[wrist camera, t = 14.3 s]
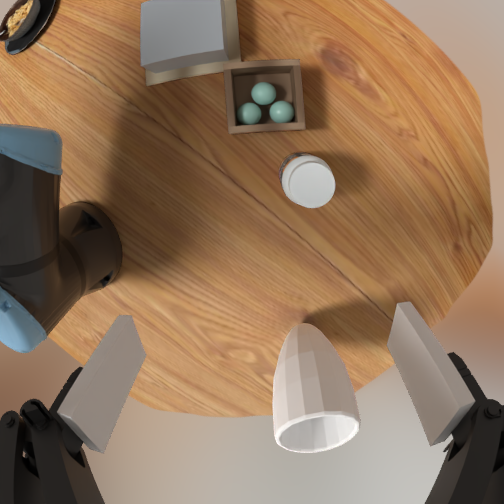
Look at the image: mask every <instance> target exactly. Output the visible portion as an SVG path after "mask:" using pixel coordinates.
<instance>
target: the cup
mask: <svg viewBox="0 0 504 504" xmlns="http://www.w3.org/2000/svg"><path fill="white" fill-rule="evenodd" d="M272 405H273V421H274V436H275V439H276V441H277V444H278V445H279V446H281V447H283V448H285V449H286V450H289V451H294V452H299V453H314V452H320V451H325V450H329V449H332V448H335V447H338V446H340V445H342V444H344V443H345V442H347V441H349V440H350V439H352V438H353V437H354V436H355V435H356V433H357V432H358V431H359V429H360V416H359V411H358V406H357V402H356V397H355V393H354V389H353V386H352V383H351V380H350V378H349V375H348V372H347V369H346V367H345V364H344V362H343V361H342V359H341V358H340V356H339V354H338V353H337V351H336V350H335V348H334V346H333V345H332V344H331V342H330V341H329V340H328V339H327V338H326V336H325V335H324V334H323V333H322V332H321V331H320V330H319V329H317V328H316V327H315V326H313V325H311V324H308V323H302V324H298V325H296V326H294V327H293V328H292V329H291V330H290V332H289V333H288V335H287V336H286V338H285V341H284V343H283V346H282V348H281V351H280V354H279V358H278V362H277V367H276V371H275V375H274V382H273V404H272Z"/></svg>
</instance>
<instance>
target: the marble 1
mask: <svg viewBox="0 0 504 504" xmlns="http://www.w3.org/2000/svg"><path fill="white" fill-rule="evenodd" d="M236 116H237V119H238V121H239V122H240V123H241V124H243V125H255V124H257V123H258V122H259V120H260V119H261V110H260V108H259V107H258V106H257V105H256V104H254V103H244V104H242V105H241V106H240V107H239V108H238V109H237V113H236Z"/></svg>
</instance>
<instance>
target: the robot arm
mask: <svg viewBox="0 0 504 504" xmlns="http://www.w3.org/2000/svg"><path fill="white" fill-rule="evenodd" d="M61 162H62V139H61V137H60V135H59V134H58V133H57V132H56V131H54V130H51V129H46V128H40V127H32V126H23V125H13V124H0V341H1V342H3V343H4V344H5V345H7V346H8V347H9V348H11V349H13V350H15V351H17V352H21V353H28V352H30V351H32V350H34V349H35V347H36V346H38V344H39V343H40V342H41V341H43V340H45V339H46V338H47V336H48V334H49V333H50V332H51V331H52V330H53V328H54V327H55V326H56V325H57V324H58V323H59V321H60V320H61V319H62V318H63V317H64V316H65V314H66V313H67V312H68V311H69V310H70V309H71V308H72V307H73V305H74V304H75V303H76V302H77V301H78V300H79V299H80V298H81V297H82V296H85V295H87V294H90V293H93V292H95V291H98V290H100V289H103V288H104V287H106V286H107V285H108V284H109V283H110V282H111V281H112V280H113V279H114V278H115V277H116V275H117V274H118V272H119V269H120V267H121V262H122V247H121V242H120V239H119V236H118V233H117V231H116V229H115V227H114V225H113V224H112V222H111V221H110V219H109V218H108V217H107V216H106V215H105V214H104V213H103V212H102V211H101V210H100V209H98V208H97V207H95V206H93V205H91V204H88V203H84V202H75V203H72V204H69V205H67V206H65V207H63V208H61V209H60V210H59V196H60V181H61V175H62V169H61ZM387 347H388V349H389V351H390V353H391V355H392V357H393V359H394V361H395V364H396V366H397V368H398V370H399V372H400V374H401V377H402V379H403V381H404V383H405V385H406V388H407V390H408V392H409V395H410V397H411V399H412V401H413V404H414V406H415V409H416V411H417V413H418V416H419V418H420V421H421V423H422V426H423V428H424V431H425V434H426V436H427V439H428V441H429V444H430V446H432V445H435V444H438V443H441V442H443V441H445V440H446V439H447V438H448V436H449V435H450V434H451V433H452V436H453V438H454V439H453V440H452V441H451V442H450V443H449V444H448V446H447V447H446V448H445V450H444V451H443V452H446V451H447V450H448V452H447V455H446V458H445V460H444V463H443V465H442V468H441V470H440V473H439V475H438V477H437V479H436V481H435V484H434V486H433V488H432V490H431V492H430V495H429V496H428V498H427V500H426V502H425V504H504V405H501V404H500V403H499V402H498V401H495V400H493V399H487V398H486V397H485V395H484V393H483V391H482V390H481V388H480V386H479V385H478V383H477V382H476V380H475V378H474V377H473V375H471V372H470V370H469V369H467V366H466V364H465V363H464V361H463V360H462V359H461V358H460V357H459V356H458V355H456V354H455V353H454V352H453V353H449V354H447V353H446V352H445V350H444V349H443V347H442V346H441V344H440V343H439V341H438V340H437V338H436V337H435V335H434V334H433V332H432V331H431V330H430V328H429V327H428V325H427V324H426V322H425V321H424V320H423V318H422V317H421V316H420V314H419V313H418V311H417V310H416V309H415V307H414V306H413V305H412V303H411V302H402V303H397V306H396V311H395V315H394V319H393V324H392V328H391V332H390V335H389V339H388V343H387ZM145 357H146V353H145V351H144V348H143V345H142V343H141V340H140V338H139V335H138V332H137V330H136V327H135V324H134V321H133V318H132V315H119V316H118V317H117V319H116V320H115V321H114V323H113V324H112V326H111V327H110V329H109V330H108V332H107V333H106V334H105V336H104V337H103V339H102V340H101V342H100V343H99V345H98V346H97V348H96V349H95V351H94V352H93V354H92V355H91V357H90V359H89V360H88V362H87V363H86V365H85V366H84V368H82V367H79V368H78V369H76V370H75V371H74V372H73V373H72V374H71V375H70V377H69V379H68V380H67V383H65V385H64V386H63V389H62V390H61V391H60V393H59V394H58V396H57V398H56V399H55V401H54V403H53V404H52V406H51V408H50V409H49V411H48V410H47V409H46V407H45V406H44V405H43V403H42V402H41V401H39V400H37V399H31V400H29V401H27V402H25V403H24V404H23V405H22V407H21V409H20V416H21V417H22V418H21V417H20V416H19V414H18V413H16V412H15V411H8V412H6V413H5V414H4V415H3V416H2V418H1V420H0V504H105V503H104V501H103V498H102V496H101V494H100V491H99V489H98V487H97V484H96V482H95V480H94V477H93V474H92V472H91V470H90V467H89V464H88V461H87V458H86V455H85V452H84V450H83V449H82V447H81V446H82V444H83V443H85V444H86V446H87V447H89V449H91V450H95V451H98V452H101V453H104V451H105V449H106V446H107V444H108V441H109V439H110V437H111V434H112V432H113V429H114V427H115V424H116V422H117V420H118V417H119V415H120V413H121V410H122V408H123V406H124V403H125V401H126V399H127V397H128V394H129V392H130V390H131V388H132V385H133V383H134V381H135V379H136V377H137V374H138V372H139V370H140V368H141V366H142V364H143V361H144V359H145ZM23 451H24V452H25V453H26V454H25V458H24V457H23Z"/></svg>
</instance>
